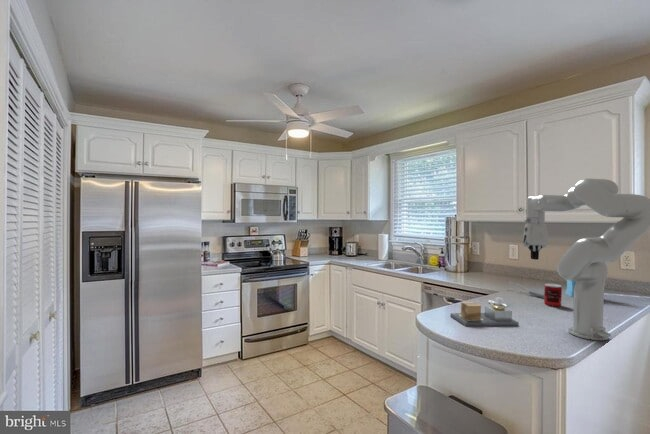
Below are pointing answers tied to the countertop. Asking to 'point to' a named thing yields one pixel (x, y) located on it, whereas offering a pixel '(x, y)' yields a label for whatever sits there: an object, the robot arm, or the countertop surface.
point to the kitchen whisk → (529, 292)
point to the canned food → (552, 295)
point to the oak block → (470, 310)
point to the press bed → (488, 318)
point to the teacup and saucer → (497, 301)
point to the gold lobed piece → (498, 307)
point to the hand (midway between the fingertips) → (534, 259)
